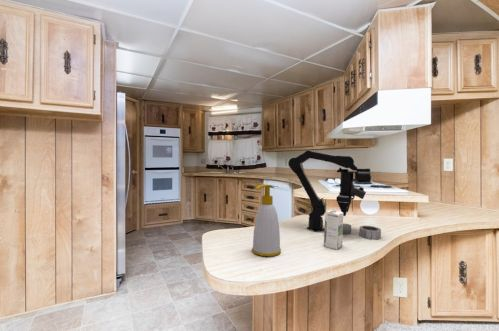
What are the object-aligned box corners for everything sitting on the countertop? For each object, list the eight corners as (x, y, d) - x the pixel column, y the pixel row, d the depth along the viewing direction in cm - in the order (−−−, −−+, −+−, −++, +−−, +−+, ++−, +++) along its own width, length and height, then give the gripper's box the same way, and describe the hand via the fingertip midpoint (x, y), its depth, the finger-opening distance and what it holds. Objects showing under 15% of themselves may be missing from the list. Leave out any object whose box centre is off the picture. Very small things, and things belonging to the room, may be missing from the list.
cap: (345, 235, 114) (345, 227, 114) (337, 232, 119) (337, 224, 119) (353, 233, 117) (353, 225, 116) (345, 230, 121) (345, 223, 121)
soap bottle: (245, 251, 94) (246, 184, 93) (265, 243, 102) (266, 182, 101) (267, 260, 86) (268, 187, 85) (286, 251, 94) (287, 184, 93)
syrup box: (328, 242, 104) (329, 209, 104) (342, 246, 101) (343, 211, 100) (323, 246, 100) (324, 211, 99) (337, 250, 96) (338, 214, 95)
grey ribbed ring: (371, 240, 107) (372, 232, 107) (355, 234, 115) (355, 226, 115) (384, 238, 111) (385, 229, 111) (368, 232, 119) (368, 224, 119)
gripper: (363, 185, 105) (362, 220, 105) (366, 181, 121) (365, 212, 122) (336, 183, 110) (335, 217, 111) (342, 179, 126) (341, 209, 127)
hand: (345, 213), depth 117 cm, fingers open, 9 cm apart
